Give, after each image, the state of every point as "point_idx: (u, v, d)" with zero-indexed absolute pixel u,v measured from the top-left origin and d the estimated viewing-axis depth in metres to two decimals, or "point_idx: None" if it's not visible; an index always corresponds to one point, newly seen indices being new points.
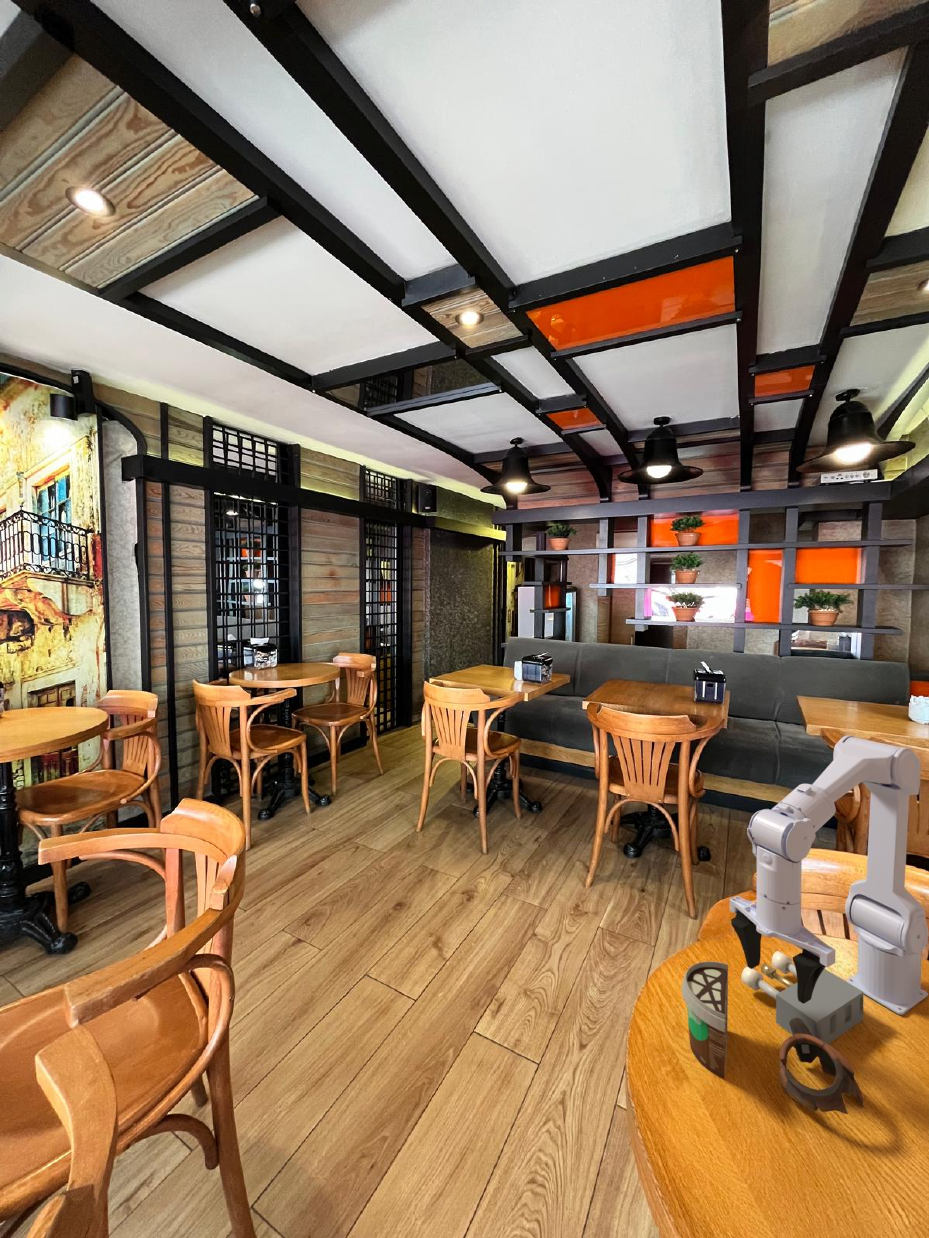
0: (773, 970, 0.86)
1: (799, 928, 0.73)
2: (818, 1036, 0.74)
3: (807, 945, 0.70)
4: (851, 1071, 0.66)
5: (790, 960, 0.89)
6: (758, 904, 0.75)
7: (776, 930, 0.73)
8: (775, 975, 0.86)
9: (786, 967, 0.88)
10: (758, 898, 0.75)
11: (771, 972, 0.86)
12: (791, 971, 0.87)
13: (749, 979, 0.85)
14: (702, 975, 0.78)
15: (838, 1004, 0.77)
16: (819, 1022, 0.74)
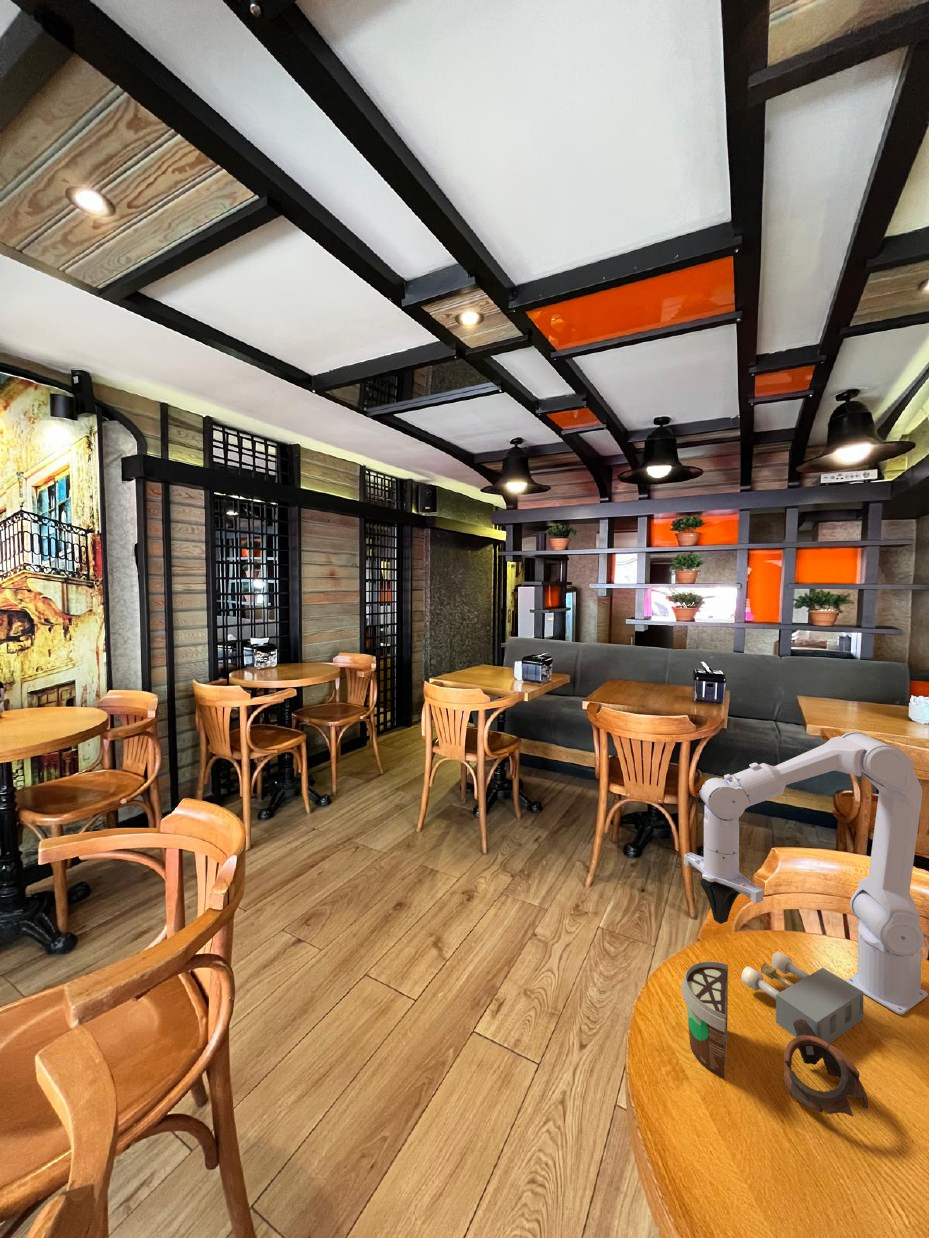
0: (773, 970, 0.86)
1: (736, 874, 0.88)
2: (818, 1036, 0.74)
3: (741, 886, 0.85)
4: (856, 1073, 0.66)
5: (790, 960, 0.89)
6: (704, 856, 0.91)
7: (718, 876, 0.88)
8: (775, 975, 0.86)
9: (786, 967, 0.88)
10: (704, 851, 0.91)
11: (771, 972, 0.86)
12: (791, 971, 0.87)
13: (749, 979, 0.85)
14: (702, 975, 0.78)
15: (838, 1004, 0.77)
16: (819, 1022, 0.74)
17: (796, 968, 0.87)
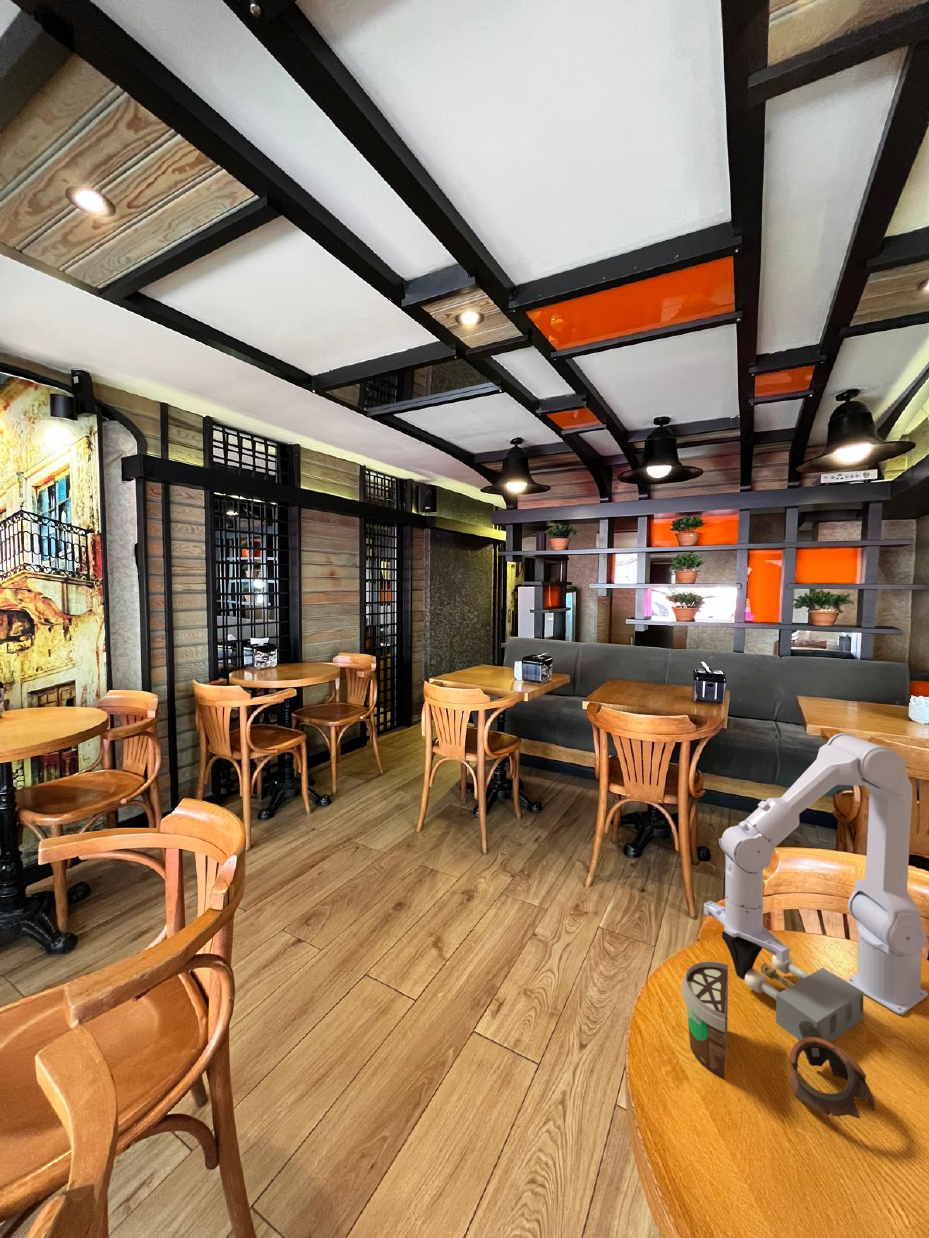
0: (773, 970, 0.86)
1: (760, 929, 0.84)
2: None
3: (766, 943, 0.82)
4: (863, 1075, 0.65)
5: (790, 960, 0.89)
6: (726, 908, 0.87)
7: (741, 930, 0.84)
8: (775, 975, 0.86)
9: (786, 967, 0.88)
10: (726, 903, 0.87)
11: (771, 972, 0.86)
12: (791, 971, 0.87)
13: (752, 981, 0.84)
14: (702, 975, 0.78)
15: (838, 1004, 0.77)
16: (819, 1022, 0.74)
17: (796, 968, 0.87)
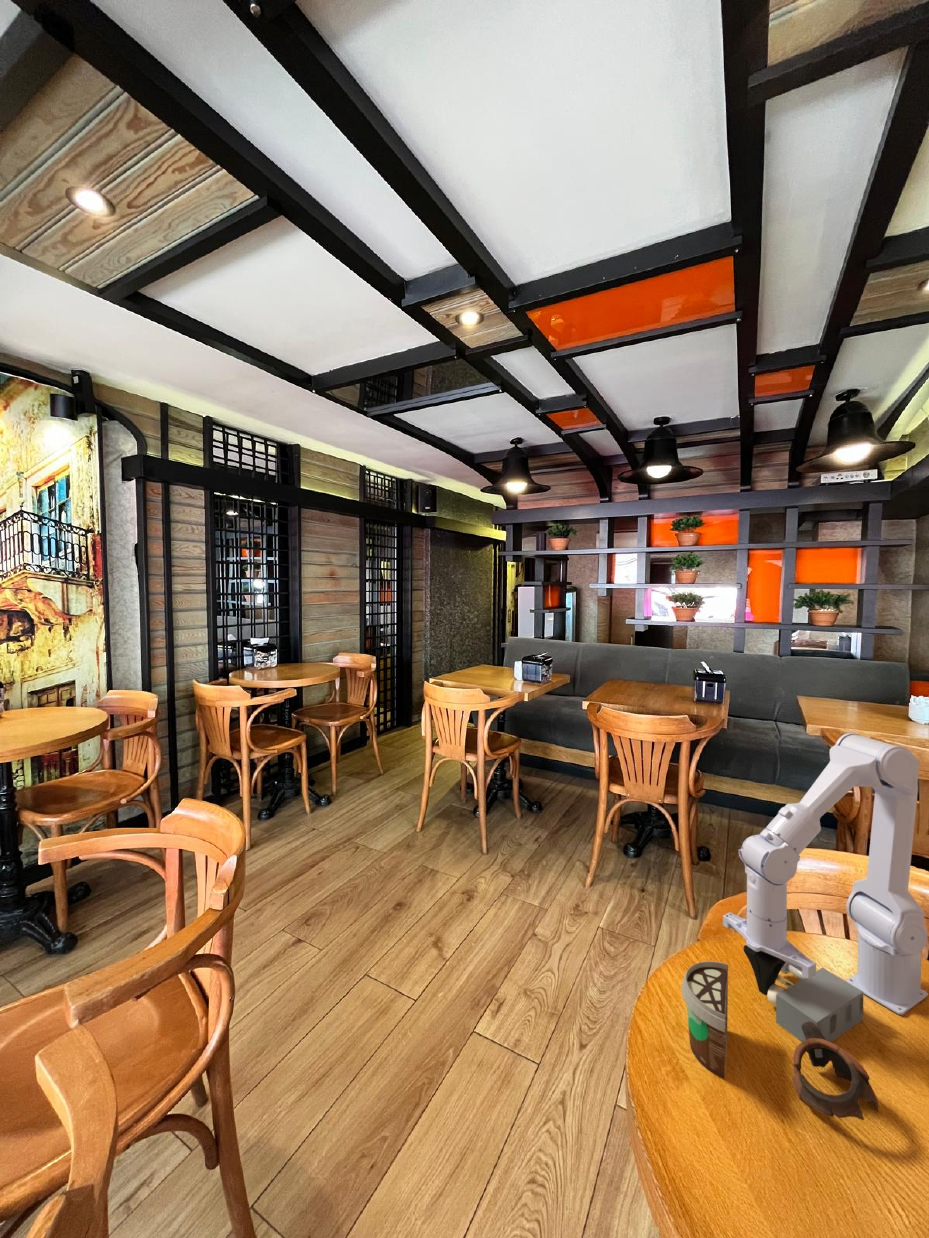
0: None
1: (784, 943, 0.81)
2: None
3: (791, 959, 0.78)
4: (866, 1076, 0.65)
5: None
6: (748, 921, 0.83)
7: (764, 945, 0.81)
8: None
9: (786, 967, 0.88)
10: (748, 915, 0.83)
11: None
12: (791, 971, 0.87)
13: None
14: (702, 975, 0.78)
15: (838, 1004, 0.77)
16: (819, 1022, 0.74)
17: None
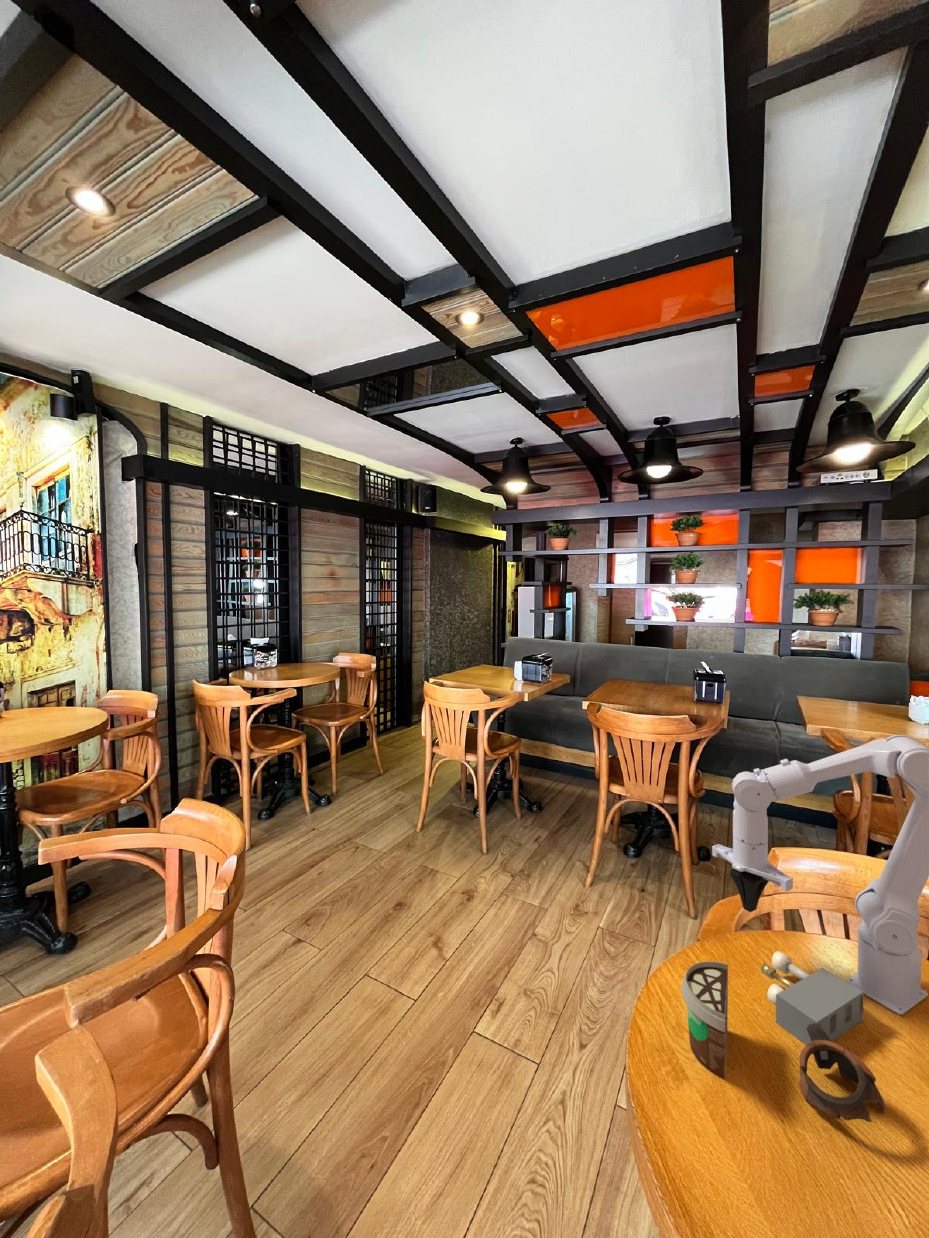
0: (773, 970, 0.86)
1: (766, 864, 0.92)
2: None
3: (771, 875, 0.89)
4: (873, 1077, 0.65)
5: (790, 960, 0.89)
6: (734, 847, 0.94)
7: (748, 865, 0.92)
8: (775, 975, 0.86)
9: (786, 967, 0.88)
10: (734, 842, 0.94)
11: (771, 972, 0.86)
12: (791, 971, 0.87)
13: None
14: (702, 975, 0.78)
15: (838, 1004, 0.77)
16: (819, 1022, 0.74)
17: (796, 968, 0.87)
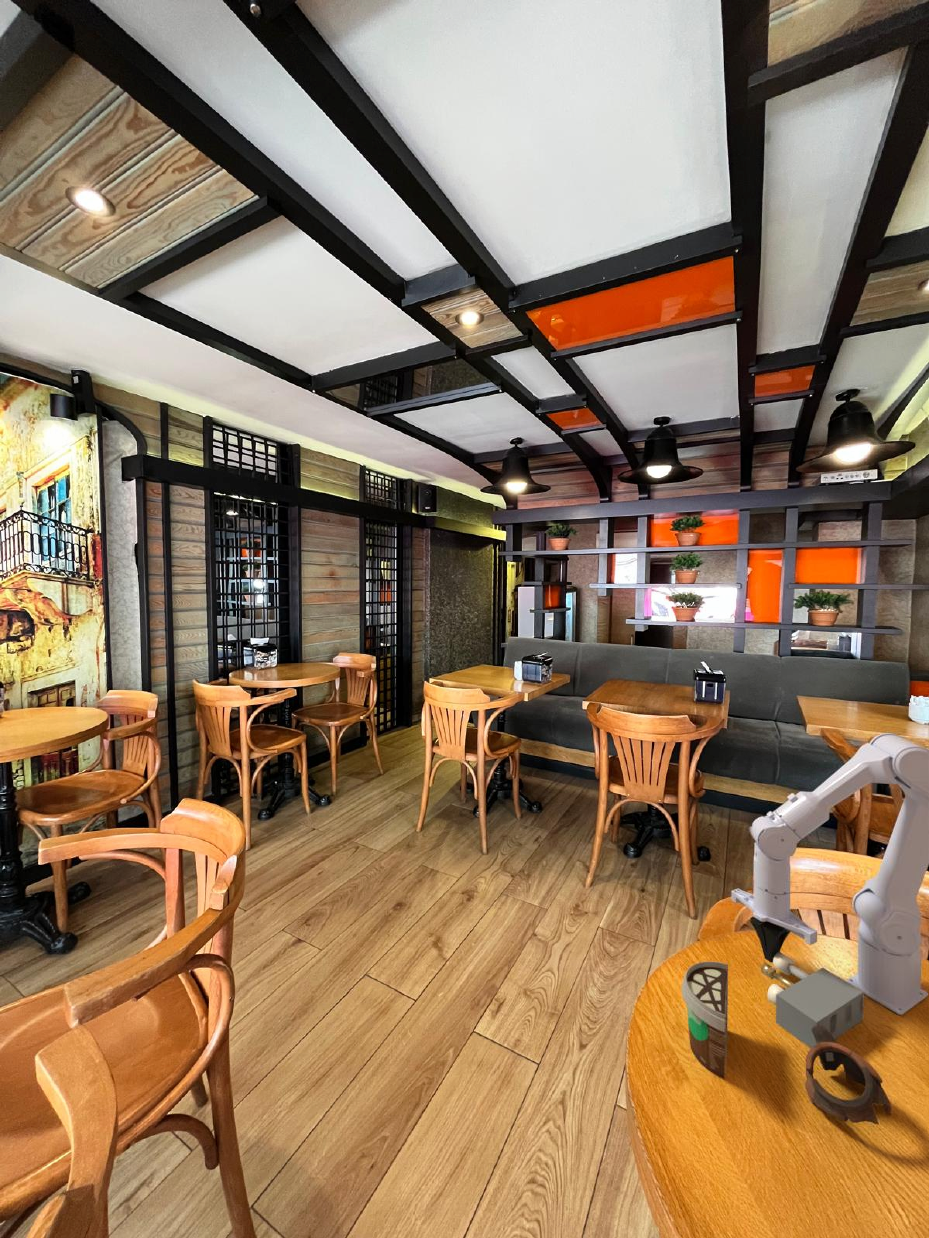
0: (773, 970, 0.86)
1: (788, 914, 0.88)
2: None
3: (794, 927, 0.86)
4: (879, 1079, 0.65)
5: (791, 961, 0.88)
6: (755, 894, 0.91)
7: (769, 915, 0.89)
8: (775, 975, 0.86)
9: (787, 968, 0.88)
10: (755, 889, 0.91)
11: (771, 972, 0.86)
12: (793, 972, 0.87)
13: None
14: (702, 975, 0.78)
15: (838, 1004, 0.77)
16: (819, 1022, 0.74)
17: (798, 969, 0.87)
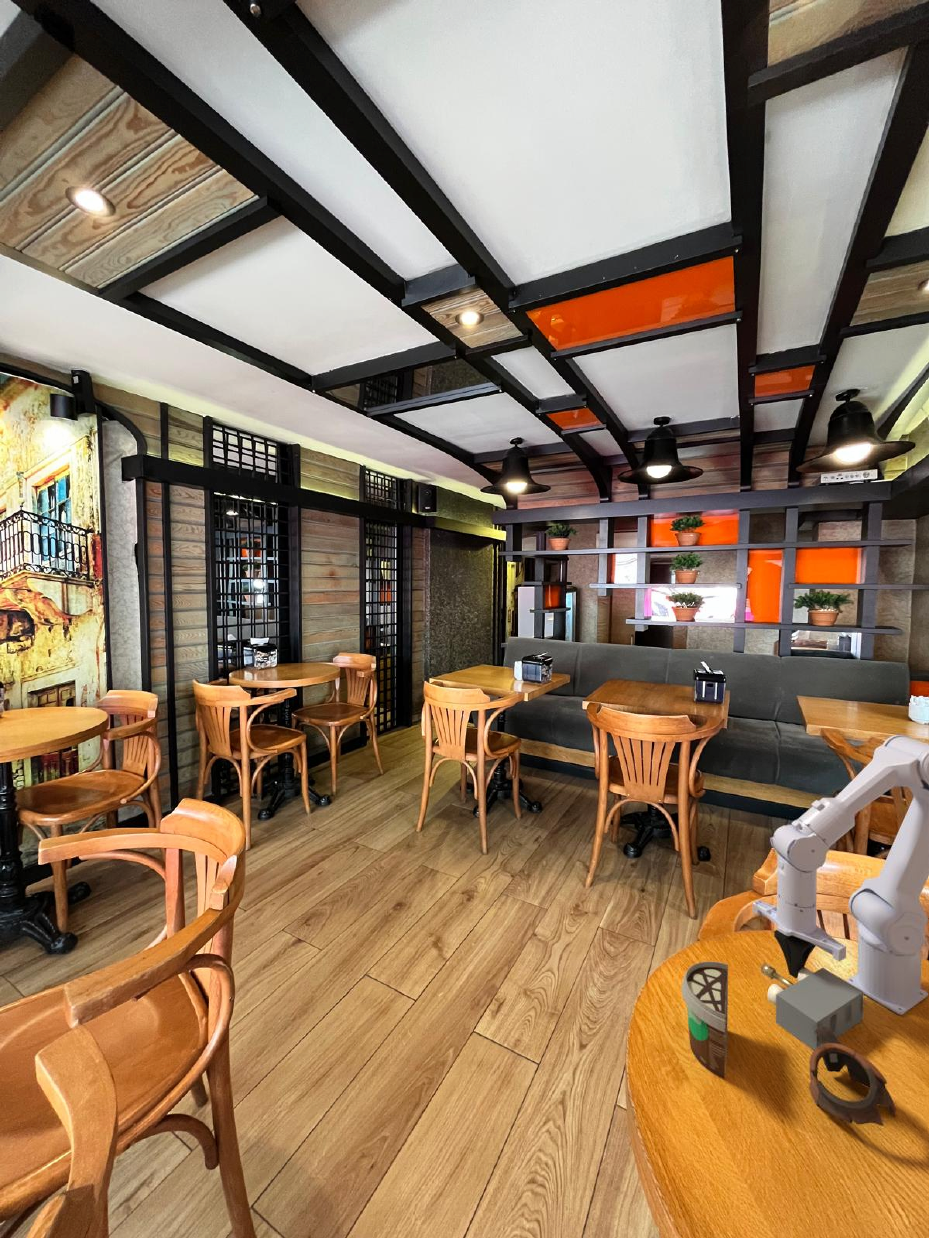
0: (773, 970, 0.86)
1: (814, 928, 0.85)
2: None
3: (822, 942, 0.82)
4: (884, 1080, 0.64)
5: None
6: (779, 907, 0.87)
7: (795, 929, 0.85)
8: (775, 975, 0.86)
9: None
10: (779, 902, 0.87)
11: (771, 972, 0.86)
12: None
13: None
14: (702, 975, 0.78)
15: (838, 1004, 0.77)
16: (819, 1022, 0.74)
17: None
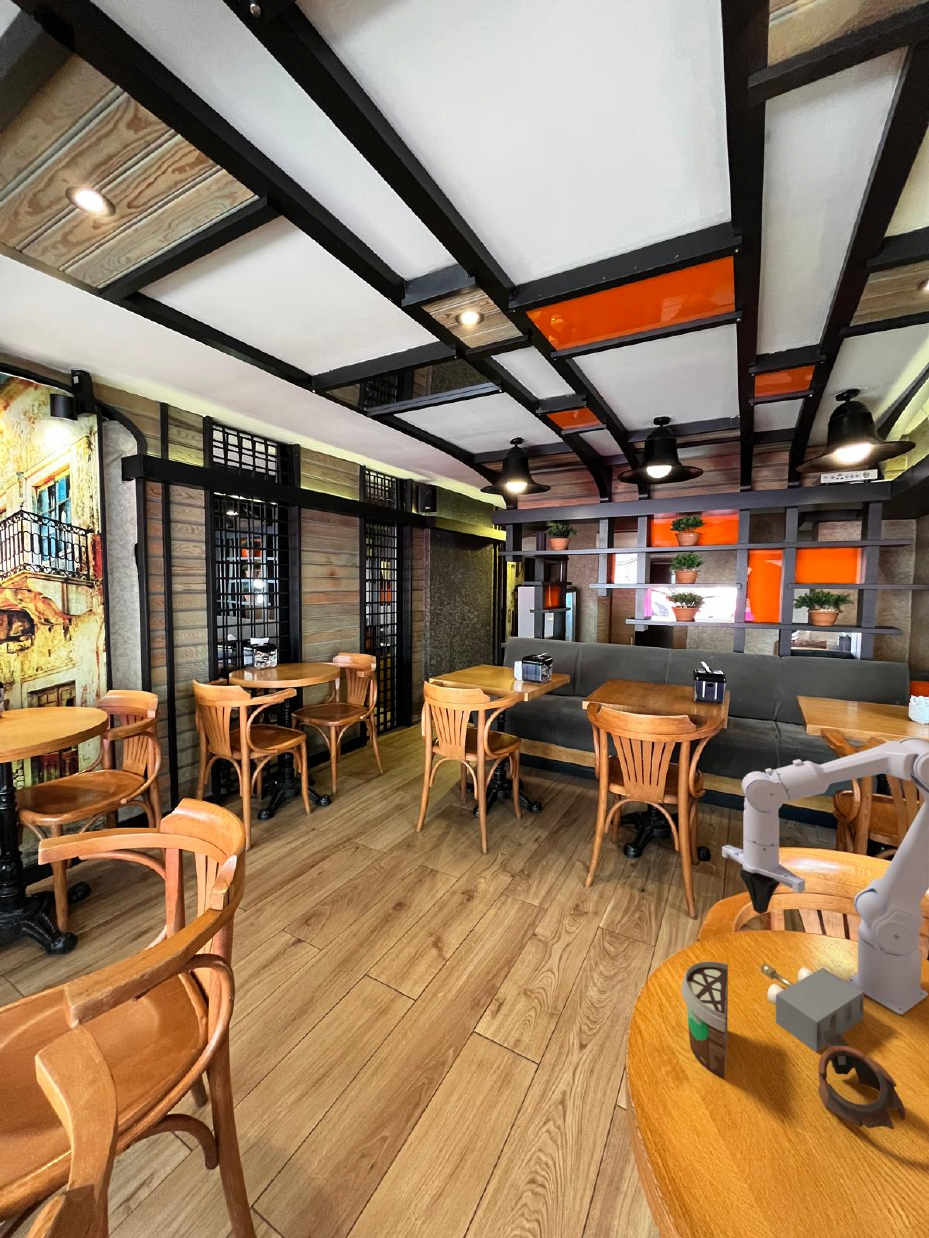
0: (773, 970, 0.86)
1: (777, 865, 0.90)
2: (818, 1036, 0.74)
3: (782, 877, 0.87)
4: (893, 1083, 0.64)
5: None
6: (744, 848, 0.93)
7: (759, 867, 0.90)
8: (775, 975, 0.86)
9: None
10: (744, 843, 0.93)
11: (771, 972, 0.86)
12: None
13: None
14: (702, 975, 0.78)
15: (838, 1004, 0.77)
16: (819, 1022, 0.74)
17: None
